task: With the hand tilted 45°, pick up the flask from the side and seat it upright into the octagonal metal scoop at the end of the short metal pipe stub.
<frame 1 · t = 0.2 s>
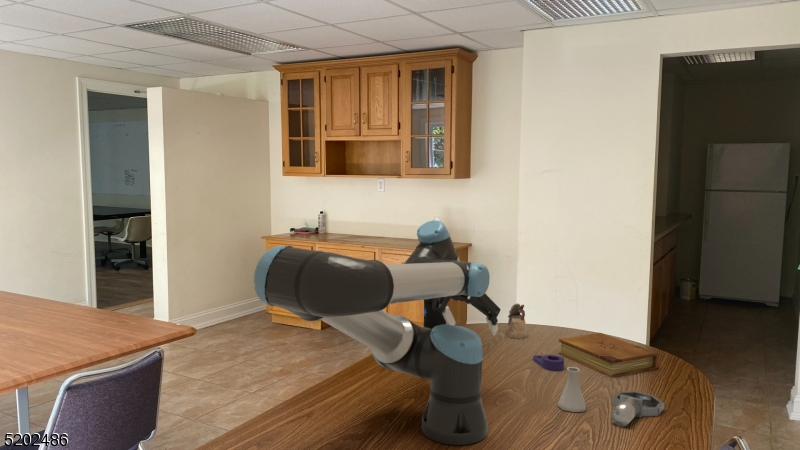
hand: (473, 328, 161), 15 cm above the table, tool tilted 35°, fingers open, 13 cm apart
diary: (605, 363, 182), on the table
aerosol can: (434, 345, 197), on the table
figurine: (516, 336, 207), on the table
lever: (547, 365, 178), on the table
flask: (571, 407, 147), on the table
octagonal metal scoop: (637, 406, 147), on the table
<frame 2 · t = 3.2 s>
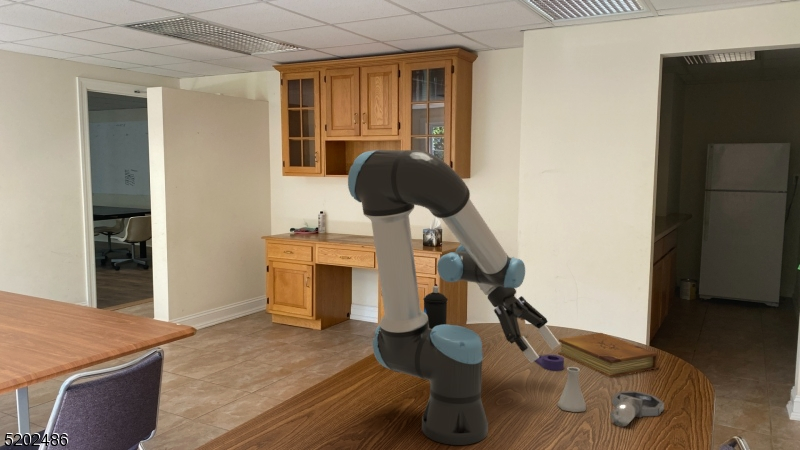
hand: (546, 353, 152), 12 cm above the table, tool tilted 45°, fingers open, 13 cm apart
nothing on the table moved.
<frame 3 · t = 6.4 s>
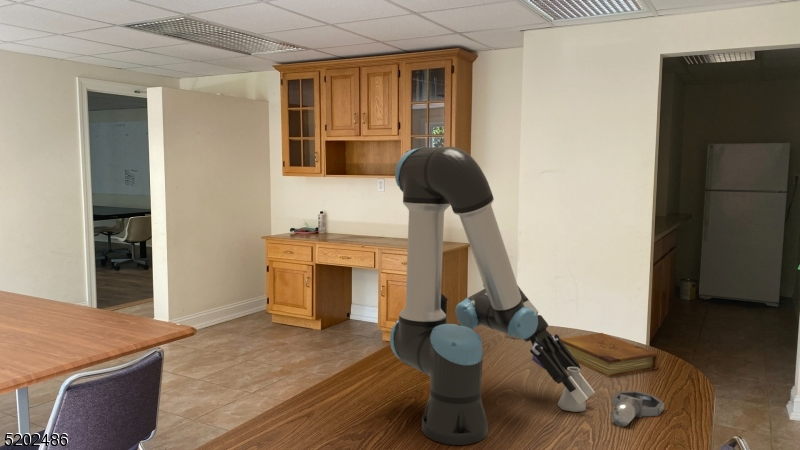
hand: (587, 398, 144), 3 cm above the table, tool tilted 45°, fingers closed on flask, 4 cm apart
flask: (571, 407, 147), on the table, touching gripper
everything else where it was.
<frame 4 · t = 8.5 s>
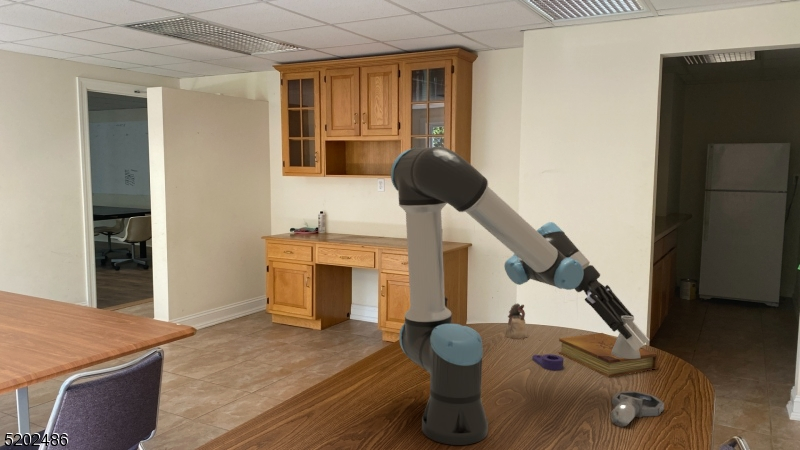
hand: (642, 345, 144), 16 cm above the table, tool tilted 45°, fingers closed on flask, 4 cm apart
flask: (625, 356, 147), point 13 cm above the table, touching gripper
everything else where it was.
when the fingers open (6 cm above the table, at t = 10.8 s): flask drops 2 cm, resting on octagonal metal scoop.
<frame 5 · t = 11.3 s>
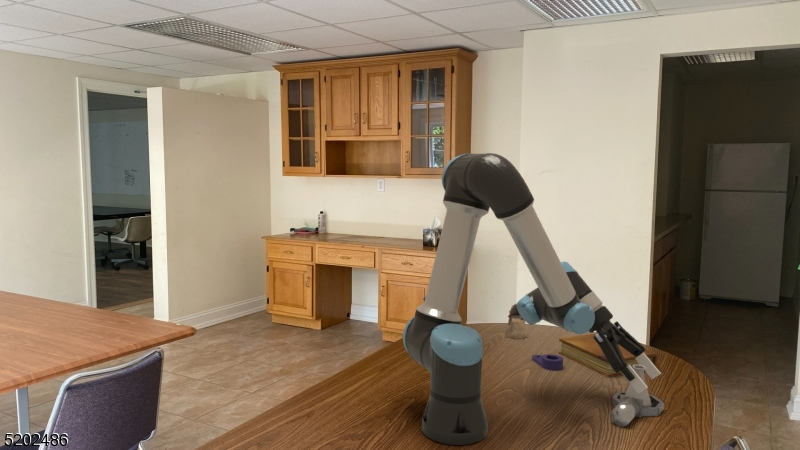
hand: (650, 383, 145), 7 cm above the table, tool tilted 45°, fingers open, 11 cm apart
flask: (636, 405, 147), resting on octagonal metal scoop
everything else where it was.
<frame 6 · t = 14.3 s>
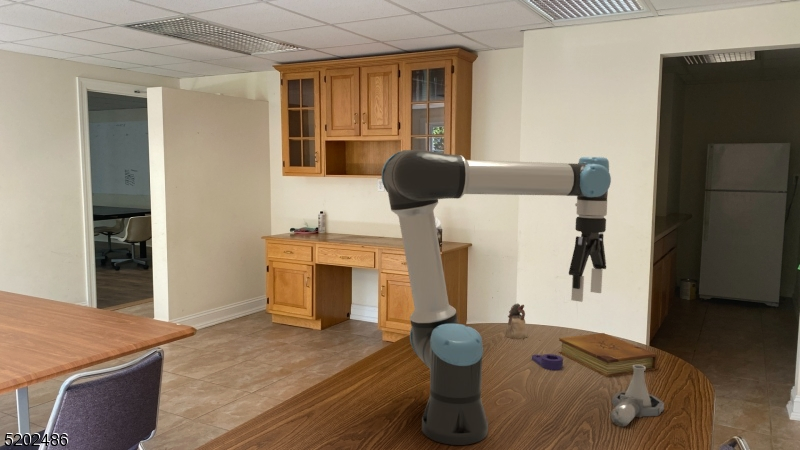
hand: (586, 296, 153), 27 cm above the table, tool pointing down, fingers open, 13 cm apart
nothing on the table moved.
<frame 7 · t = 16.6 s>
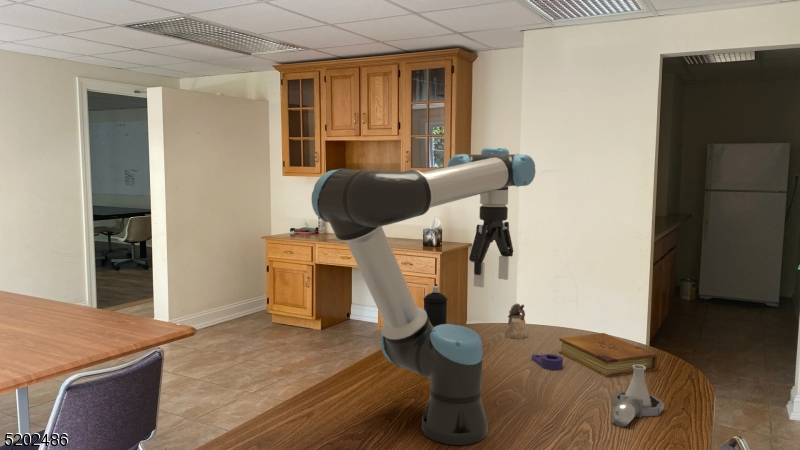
hand: (491, 282, 158), 29 cm above the table, tool pointing down, fingers open, 13 cm apart
nothing on the table moved.
at the end: flask 0.2 cm off-centre on the octagonal metal scoop, point 0.3 cm above the octagonal metal scoop's base; flask tilted 0°; the gripper is holding nothing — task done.
